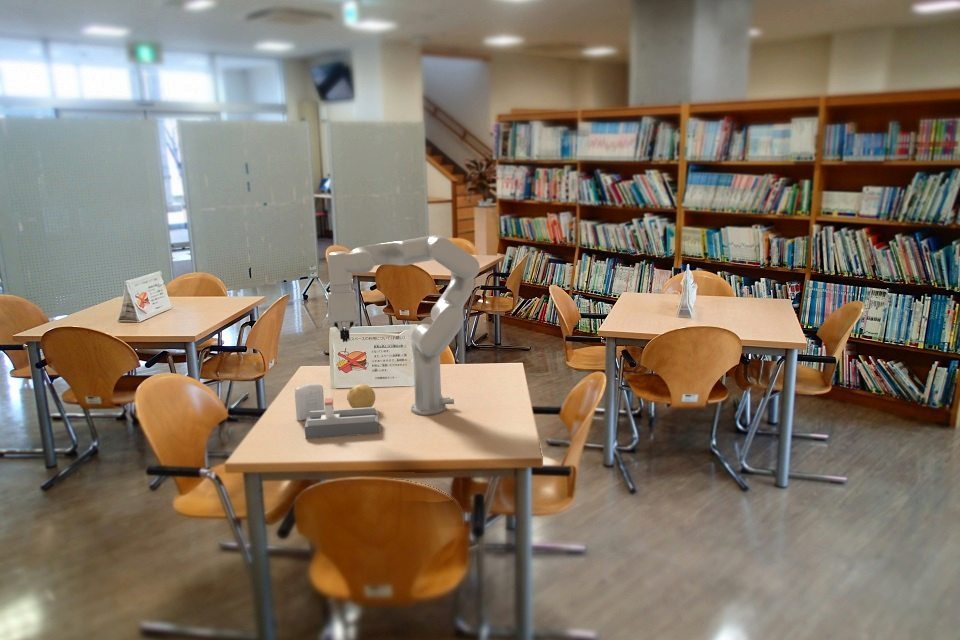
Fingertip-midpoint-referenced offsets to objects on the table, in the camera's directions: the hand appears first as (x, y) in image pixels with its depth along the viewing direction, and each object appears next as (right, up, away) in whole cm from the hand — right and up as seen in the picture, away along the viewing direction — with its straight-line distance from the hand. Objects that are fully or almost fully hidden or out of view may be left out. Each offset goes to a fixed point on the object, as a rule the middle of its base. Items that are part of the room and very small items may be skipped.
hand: (345, 340), depth 249 cm
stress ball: (+3, -26, +15) cm, 30 cm away
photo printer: (-14, -28, +10) cm, 33 cm away
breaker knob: (-4, -26, -4) cm, 27 cm away
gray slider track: (0, -30, -3) cm, 30 cm away
